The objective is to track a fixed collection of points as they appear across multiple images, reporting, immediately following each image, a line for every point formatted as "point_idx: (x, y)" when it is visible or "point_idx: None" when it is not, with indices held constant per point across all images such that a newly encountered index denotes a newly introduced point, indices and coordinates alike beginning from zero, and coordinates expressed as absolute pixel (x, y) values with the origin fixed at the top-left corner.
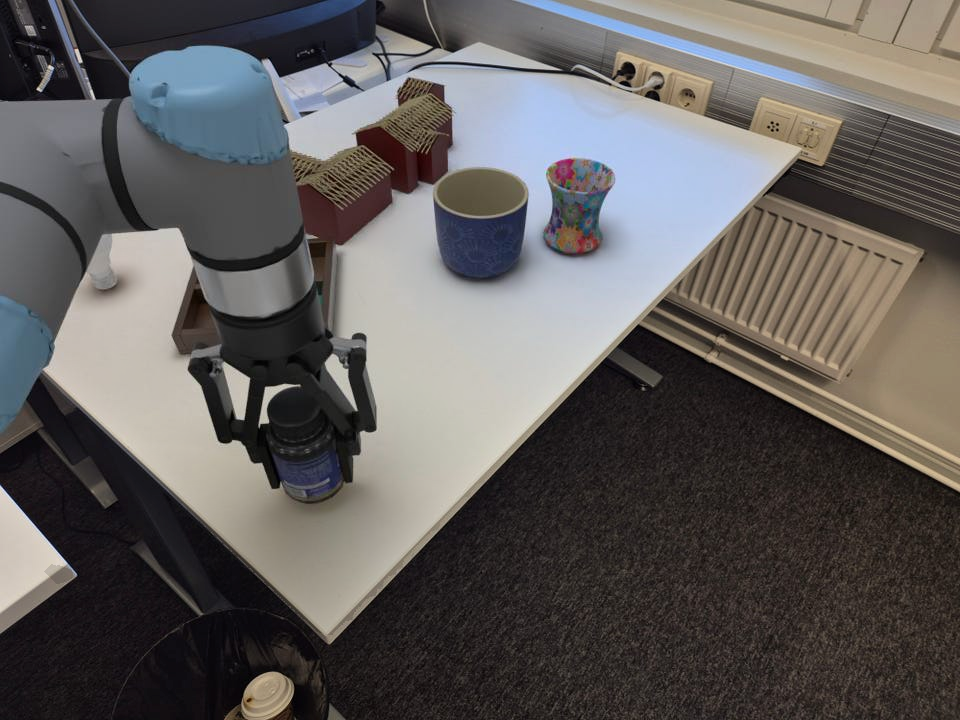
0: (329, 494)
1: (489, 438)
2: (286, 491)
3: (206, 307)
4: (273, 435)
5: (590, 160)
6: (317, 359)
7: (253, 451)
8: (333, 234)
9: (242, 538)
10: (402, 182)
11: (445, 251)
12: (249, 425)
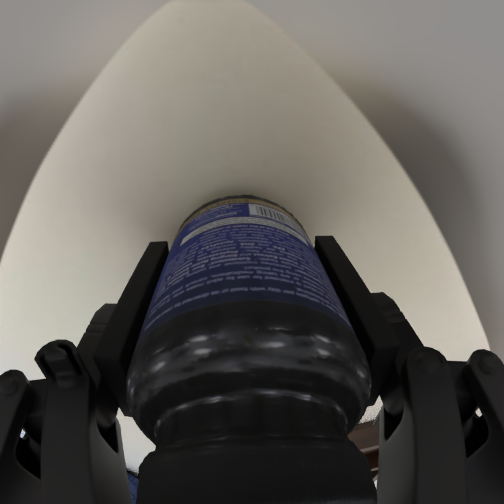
0: (197, 212)
1: (8, 307)
2: (300, 225)
3: (376, 449)
4: (351, 401)
5: None
6: None
7: (395, 327)
8: None
9: (373, 152)
10: None
11: (133, 495)
12: (446, 444)
